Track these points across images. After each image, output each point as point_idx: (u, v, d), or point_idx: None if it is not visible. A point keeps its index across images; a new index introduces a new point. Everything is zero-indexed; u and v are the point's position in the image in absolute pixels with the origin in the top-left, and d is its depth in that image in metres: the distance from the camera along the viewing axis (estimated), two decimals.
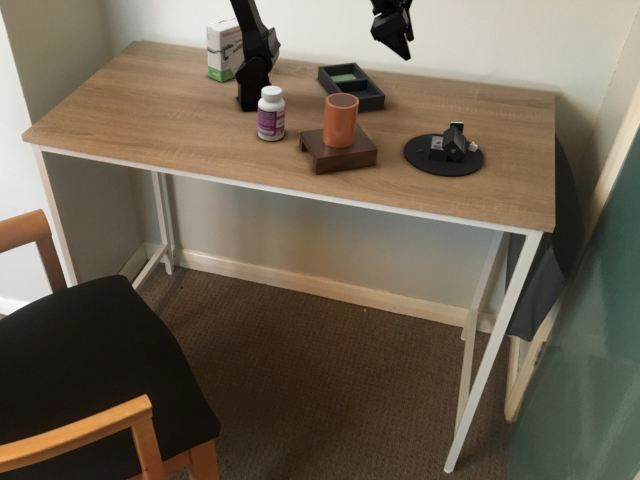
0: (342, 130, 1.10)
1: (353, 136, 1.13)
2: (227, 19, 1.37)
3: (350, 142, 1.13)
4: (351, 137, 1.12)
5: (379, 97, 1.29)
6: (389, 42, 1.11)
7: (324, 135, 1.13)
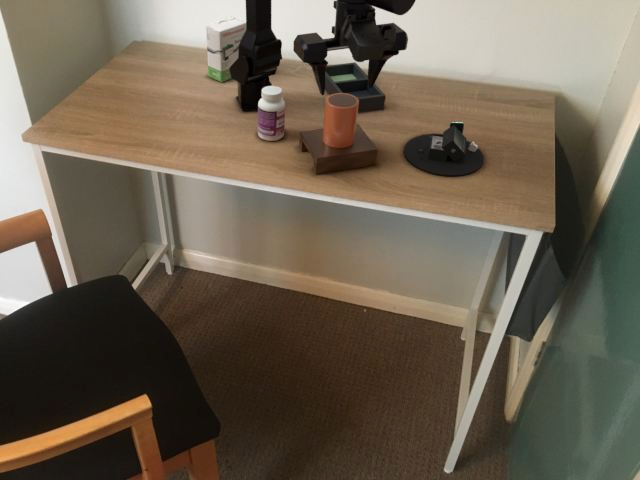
0: (342, 130, 1.10)
1: (353, 136, 1.13)
2: (227, 19, 1.37)
3: (350, 142, 1.13)
4: (351, 137, 1.12)
5: (379, 97, 1.29)
6: None
7: (324, 135, 1.13)
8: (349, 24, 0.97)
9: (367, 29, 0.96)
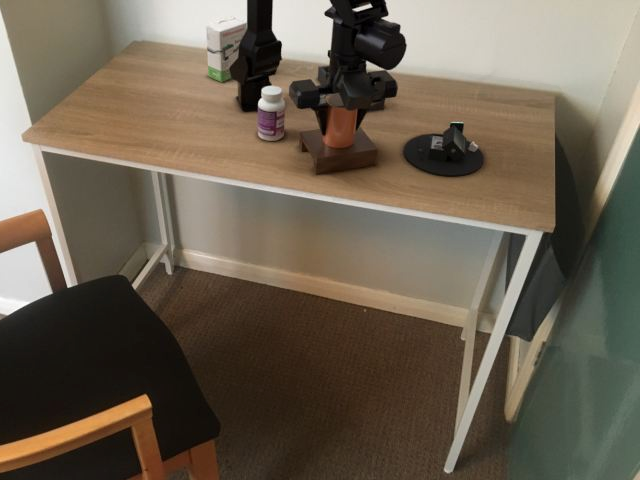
0: (342, 130, 1.10)
1: (353, 136, 1.13)
2: (227, 19, 1.37)
3: (350, 142, 1.13)
4: (351, 137, 1.12)
5: None
6: None
7: (324, 135, 1.13)
8: (341, 74, 1.02)
9: (358, 80, 1.02)
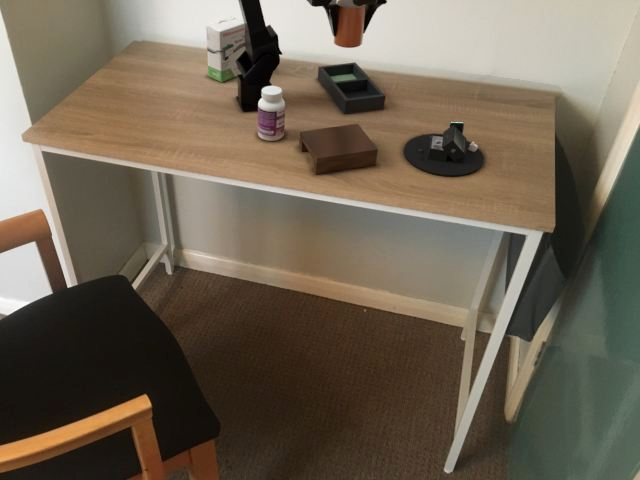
0: (352, 30, 1.24)
1: (361, 37, 1.26)
2: (227, 19, 1.37)
3: (359, 43, 1.27)
4: (359, 38, 1.26)
5: (379, 97, 1.29)
6: (326, 9, 1.24)
7: None
8: None
9: None
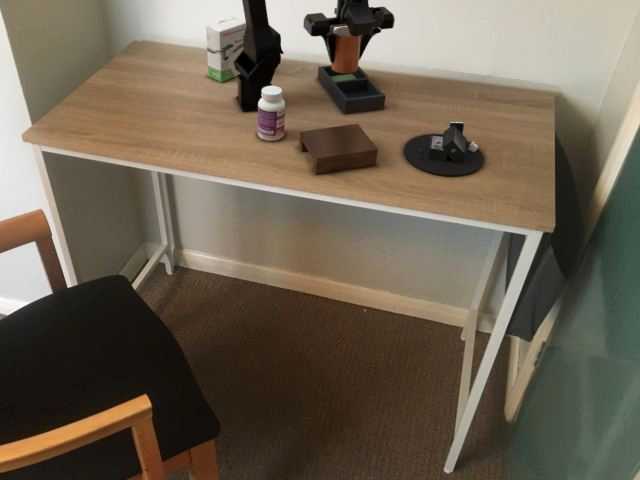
0: (348, 57, 1.31)
1: (357, 63, 1.34)
2: (227, 19, 1.37)
3: (355, 69, 1.34)
4: (355, 64, 1.33)
5: (379, 97, 1.29)
6: (324, 37, 1.32)
7: (333, 63, 1.34)
8: (347, 6, 1.23)
9: (361, 10, 1.23)
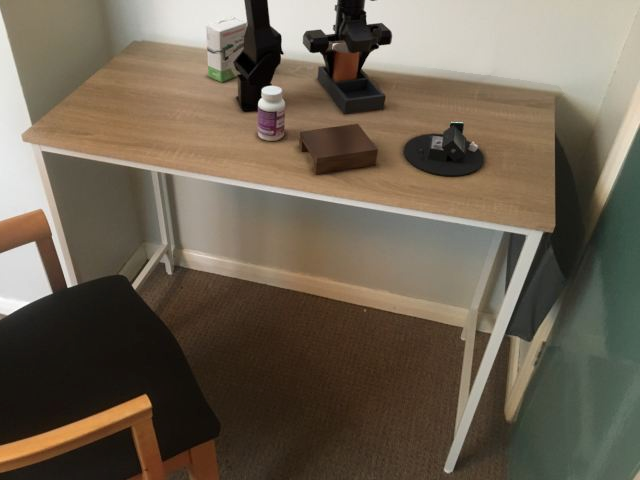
0: (347, 72, 1.34)
1: (355, 78, 1.36)
2: (227, 19, 1.37)
3: None
4: None
5: (379, 97, 1.29)
6: None
7: (331, 78, 1.37)
8: (346, 23, 1.26)
9: (359, 28, 1.25)
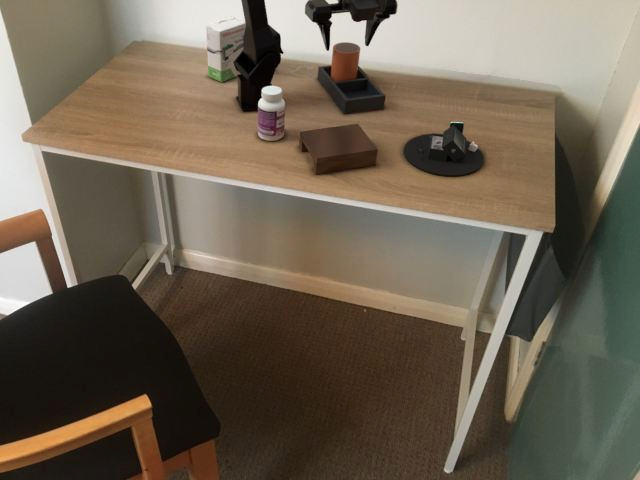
0: (347, 72, 1.34)
1: (355, 78, 1.36)
2: (227, 19, 1.37)
3: None
4: None
5: (379, 97, 1.29)
6: None
7: (331, 78, 1.37)
8: None
9: None
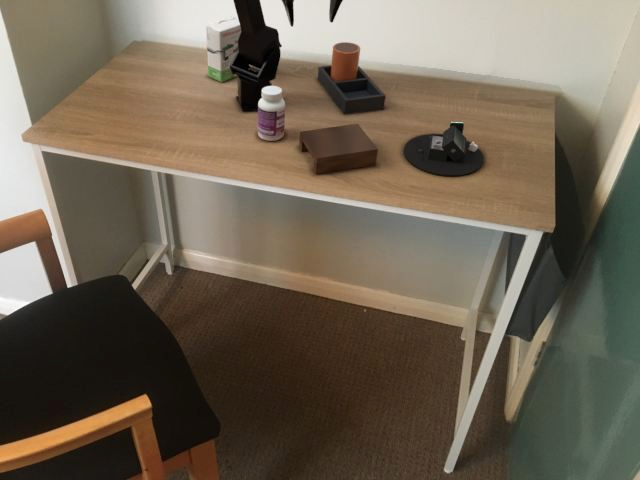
0: (347, 72, 1.34)
1: (355, 78, 1.36)
2: (227, 19, 1.37)
3: None
4: None
5: (379, 97, 1.29)
6: (283, 0, 1.31)
7: (331, 78, 1.37)
8: None
9: None
